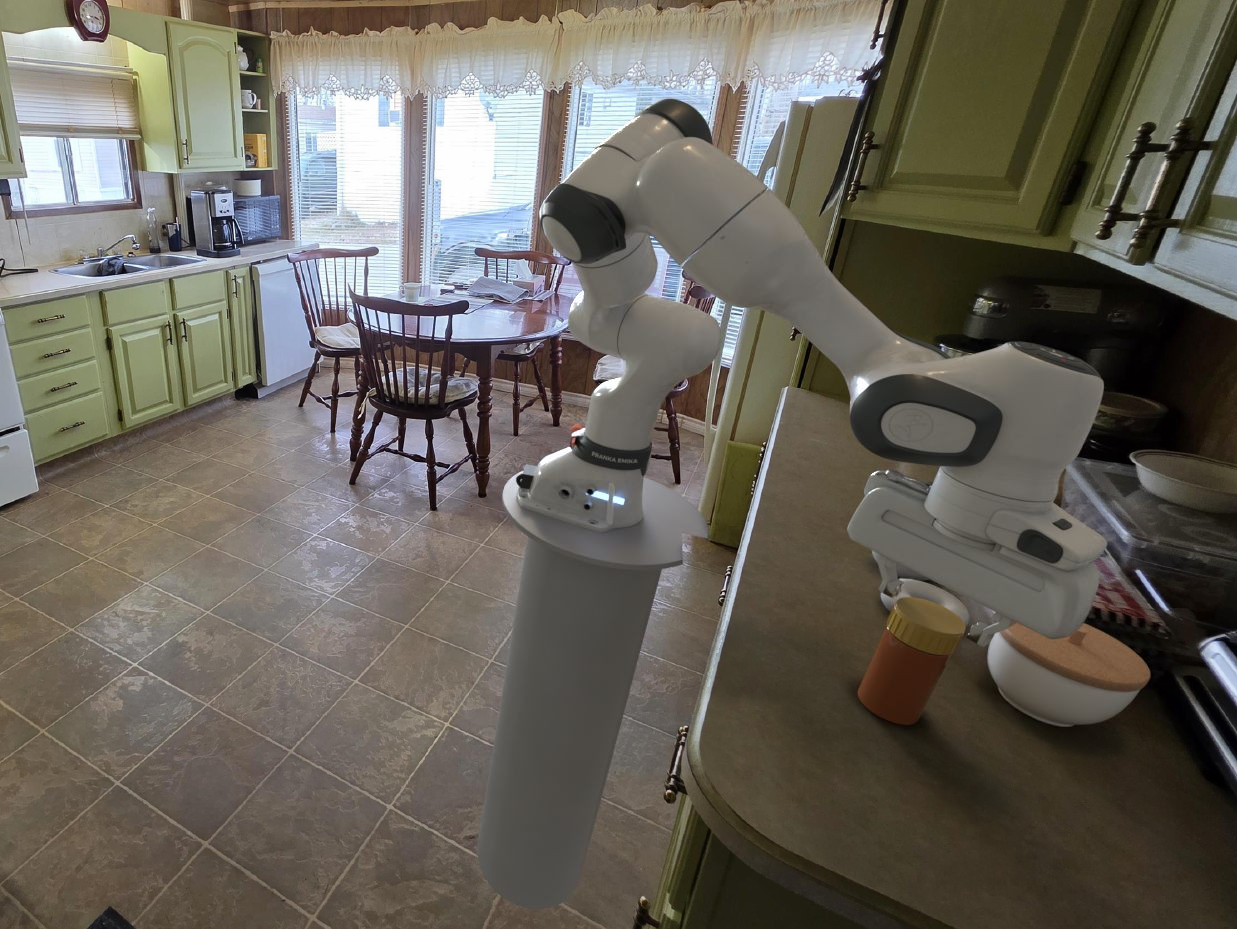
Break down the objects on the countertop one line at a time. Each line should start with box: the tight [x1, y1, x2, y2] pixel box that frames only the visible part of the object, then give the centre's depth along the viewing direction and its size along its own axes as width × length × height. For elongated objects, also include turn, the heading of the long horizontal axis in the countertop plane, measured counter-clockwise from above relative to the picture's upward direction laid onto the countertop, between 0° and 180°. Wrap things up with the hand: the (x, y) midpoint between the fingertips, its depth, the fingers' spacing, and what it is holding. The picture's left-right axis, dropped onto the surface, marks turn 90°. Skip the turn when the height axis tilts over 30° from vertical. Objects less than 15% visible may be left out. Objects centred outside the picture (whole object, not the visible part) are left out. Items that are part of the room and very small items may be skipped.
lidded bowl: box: [986, 622, 1151, 728], centre depth 78 cm, size 13×13×11 cm
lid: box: [886, 597, 967, 655], centre depth 74 cm, size 6×6×3 cm
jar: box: [857, 625, 953, 726], centre depth 76 cm, size 6×6×13 cm
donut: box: [880, 578, 970, 627], centre depth 94 cm, size 10×4×10 cm
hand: (930, 616), depth 73 cm, fingers open, 7 cm apart
